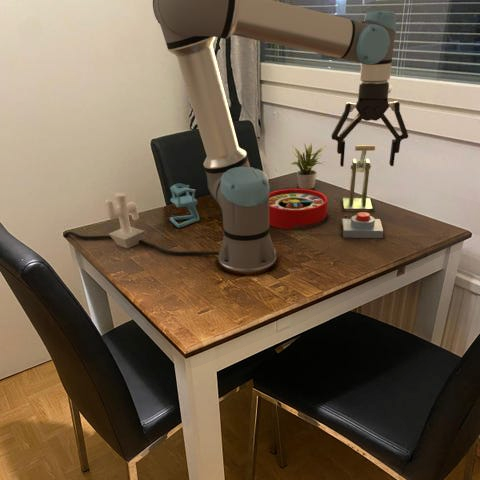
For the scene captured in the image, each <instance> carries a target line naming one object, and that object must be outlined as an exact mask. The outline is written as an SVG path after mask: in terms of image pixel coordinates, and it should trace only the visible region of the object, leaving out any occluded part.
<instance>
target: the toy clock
mask: <svg viewBox="0 0 480 480" xmlns="http://www.w3.org/2000/svg"><path fill="white" fill-rule="evenodd" d="M269 193H270V194H269V226H271V227H274V228H278V229H284V230H294V227H295V226H297V227H298V226H299V227H300V226H307V225H313V224H316V223H319V222H321V221H323V220H325V218H326V217H327V215H328V197H327V196H326V195H325V194H323V193H322V192H320V191H316V190H312V189H302V188H287V189H278V190H275V191H270V192H269Z"/></svg>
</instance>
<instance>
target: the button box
mask: <svg viewBox="0 0 480 480" xmlns="http://www.w3.org/2000/svg"><path fill="white" fill-rule="evenodd" d="M356 219H357V214H356V215H353V216H351V218H342V219H341V224H342V238H350V239H351V238H354V239H355V238H359V239H383V238H384V228H383V225H382V221H381V218H375V217H373V216H371V215H370V218H369V221H358V220H356Z"/></svg>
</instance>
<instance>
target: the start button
mask: <svg viewBox="0 0 480 480" xmlns="http://www.w3.org/2000/svg"><path fill="white" fill-rule="evenodd" d="M356 215H357V219H356V220H358V221H369V218H370V216H371V214H370V212H366V211H360V212H357V213H356Z"/></svg>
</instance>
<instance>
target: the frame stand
mask: <svg viewBox="0 0 480 480" xmlns="http://www.w3.org/2000/svg"><path fill="white" fill-rule="evenodd" d="M364 161H365V169H364V172H363V180H362V181H363V182H362V191H361V197H355V187H356V176H357V162H358V161H357V159H356V158H352V162H351V164H350V170H351V175H350V186H349V197H342V204H343V209H350V210H351V209H352V210H353V209H356V210H357V209H359V210H361V209H364V210H365V209H366V210H368V209H369V210H372V209H373V205H372V201H371V198H370V197H368V196H367V195H368V187H369V185H368V184H369V177H370V176H369V175H370V170H371V168H372V164H371V162H370V159H369V158H365V160H364Z"/></svg>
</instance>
